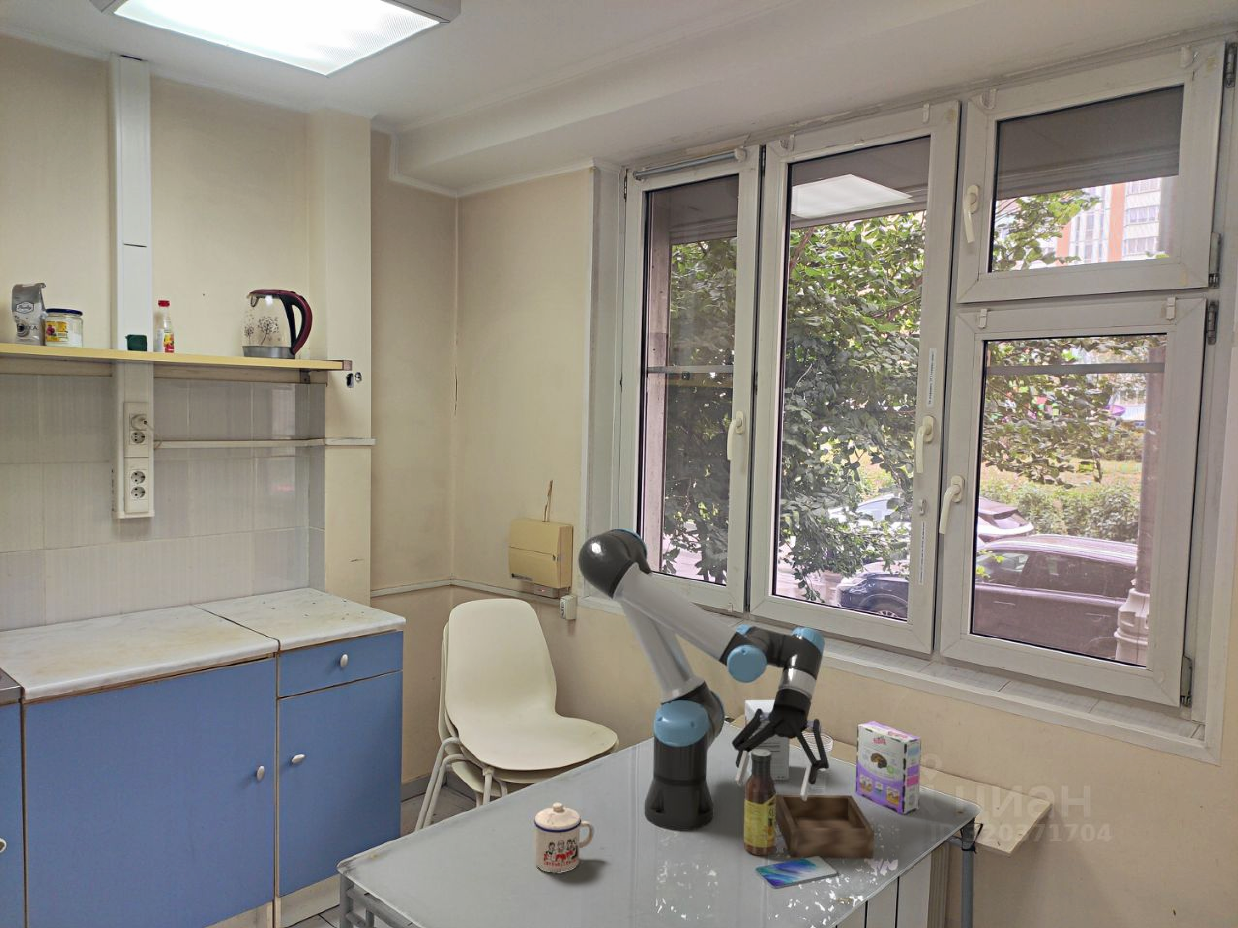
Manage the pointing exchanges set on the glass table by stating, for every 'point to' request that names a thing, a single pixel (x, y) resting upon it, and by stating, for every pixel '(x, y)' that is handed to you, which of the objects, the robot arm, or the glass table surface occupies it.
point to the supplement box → (769, 741)
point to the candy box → (888, 766)
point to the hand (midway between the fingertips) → (770, 790)
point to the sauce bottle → (760, 806)
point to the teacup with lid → (559, 838)
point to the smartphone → (796, 872)
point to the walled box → (824, 826)
